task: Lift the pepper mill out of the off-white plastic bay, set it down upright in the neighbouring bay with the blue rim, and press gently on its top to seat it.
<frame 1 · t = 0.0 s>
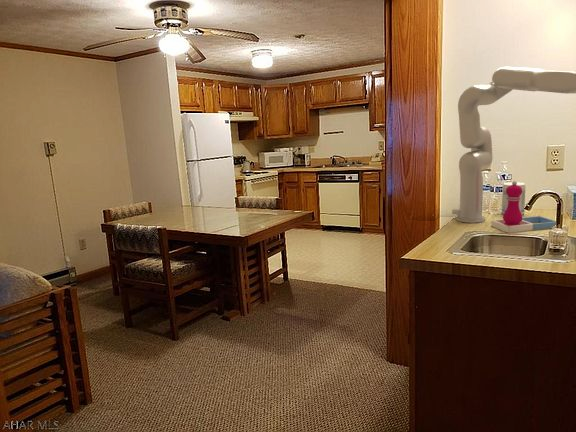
supplement tub: (512, 214, 203), on the countertop
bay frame: (524, 226, 179), on the countertop
pepper mill: (512, 228, 179), resting in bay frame
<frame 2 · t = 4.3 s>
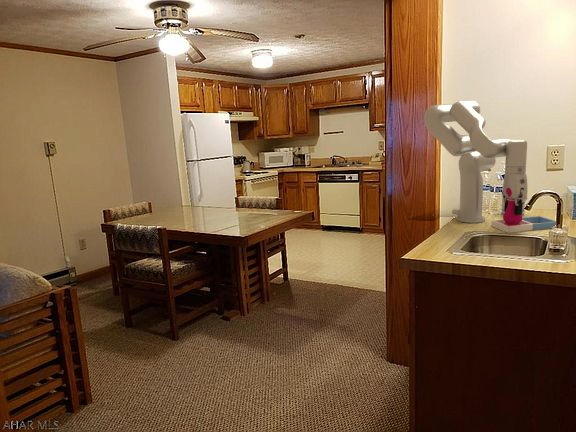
hand: (513, 212, 177), 7 cm above the countertop, tool pointing down, fingers closed on pepper mill, 5 cm apart
pepper mill: (512, 228, 179), resting in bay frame, touching gripper
everything else where it was.
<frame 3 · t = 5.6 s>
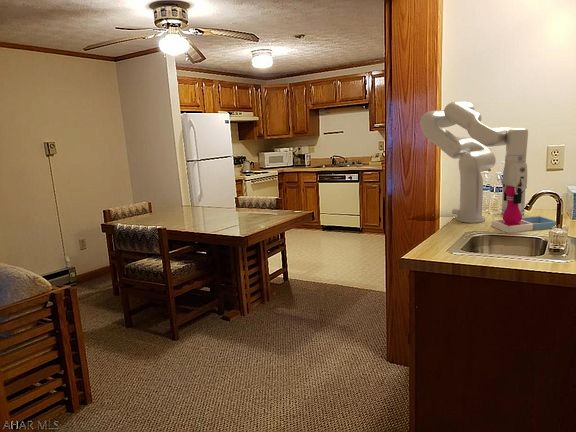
hand: (512, 201, 177), 11 cm above the countertop, tool pointing down, fingers closed on pepper mill, 5 cm apart
pepper mill: (511, 228, 179), resting in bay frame, touching gripper
everything else where it was.
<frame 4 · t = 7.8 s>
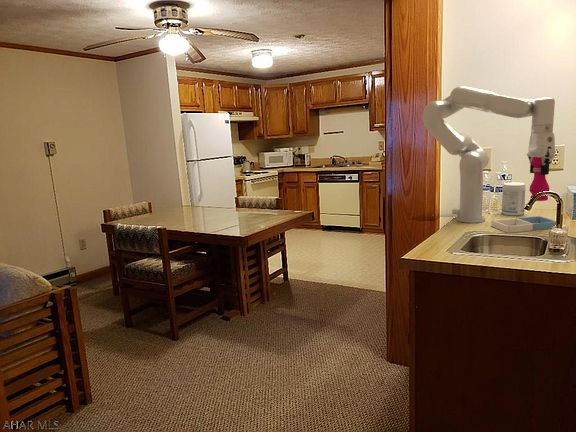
hand: (539, 173, 175), 22 cm above the countertop, tool pointing down, fingers closed on pepper mill, 5 cm apart
pepper mill: (539, 200, 177), point 11 cm above the countertop, touching gripper
everything else where it was.
when the fingers open (12 cm above the countertop, at t = 9.7 s): pepper mill stays where it is, resting in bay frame.
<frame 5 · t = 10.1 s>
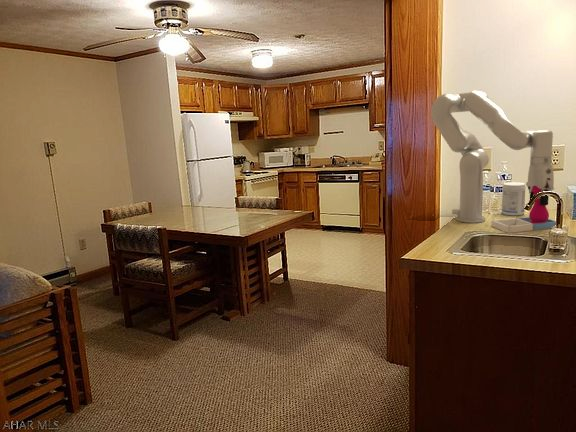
hand: (538, 203, 177), 10 cm above the countertop, tool pointing down, fingers open, 5 cm apart
pepper mill: (538, 226, 179), resting in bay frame
everything else where it was.
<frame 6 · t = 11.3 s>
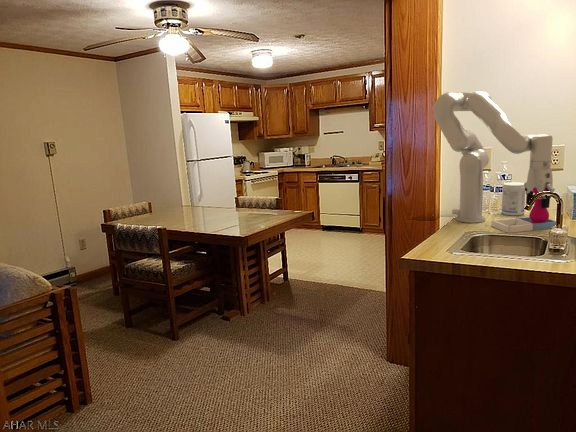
hand: (537, 205, 178), 9 cm above the countertop, tool pointing down, fingers open, 9 cm apart
nothing on the countertop moved.
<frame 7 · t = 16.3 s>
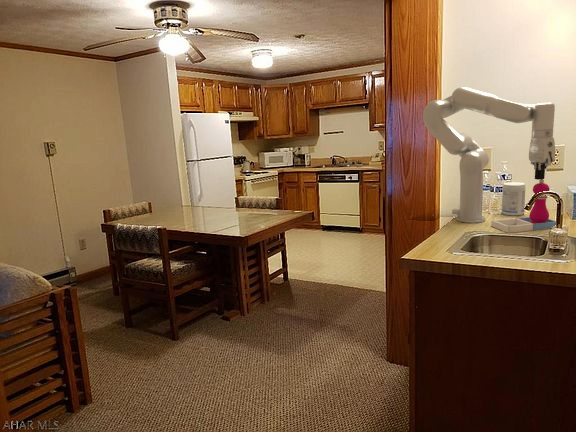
hand: (539, 179, 175), 20 cm above the countertop, tool pointing down, fingers closed
pepper mill: (538, 226, 179), resting in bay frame, touching gripper
everything else where it was.
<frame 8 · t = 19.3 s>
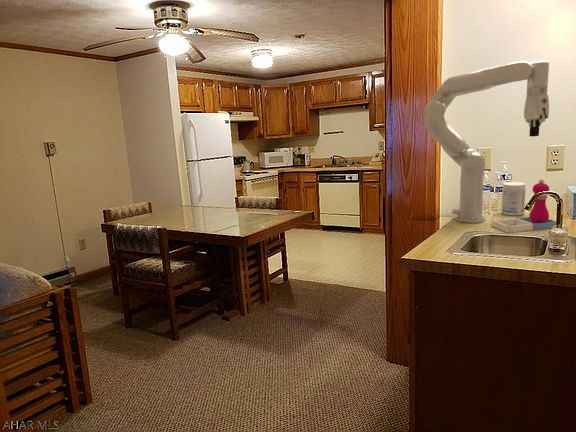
hand: (534, 136, 182), 37 cm above the countertop, tool pointing down, fingers closed
pepper mill: (538, 226, 179), resting in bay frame
everything else where it was.
at the end: pepper mill 1.0 cm from the target spot on the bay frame, point 0.0 cm above the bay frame's base; pepper mill tilted 0°; the gripper is holding nothing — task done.
